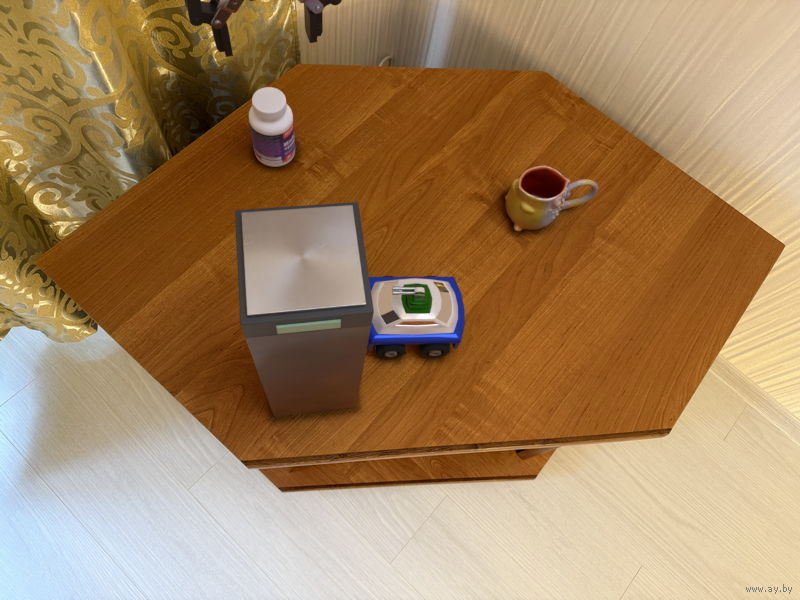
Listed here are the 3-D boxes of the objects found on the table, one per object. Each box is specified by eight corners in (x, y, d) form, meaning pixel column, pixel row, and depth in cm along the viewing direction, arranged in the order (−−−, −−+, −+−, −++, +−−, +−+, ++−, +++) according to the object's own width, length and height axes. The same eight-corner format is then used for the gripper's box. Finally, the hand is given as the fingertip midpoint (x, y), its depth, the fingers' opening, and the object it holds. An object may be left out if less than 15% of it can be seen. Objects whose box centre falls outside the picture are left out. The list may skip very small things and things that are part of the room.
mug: (507, 235, 78) (522, 207, 72) (497, 190, 80) (511, 160, 74) (593, 230, 80) (615, 203, 74) (581, 187, 82) (601, 157, 76)
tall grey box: (274, 419, 65) (239, 325, 39) (268, 340, 68) (233, 206, 43) (356, 409, 66) (374, 312, 41) (346, 332, 70) (358, 198, 44)
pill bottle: (294, 169, 78) (289, 119, 69) (252, 166, 78) (242, 115, 69) (297, 136, 80) (293, 84, 71) (256, 133, 80) (248, 79, 71)
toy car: (357, 287, 72) (361, 250, 64) (453, 286, 74) (470, 250, 65) (359, 360, 69) (364, 331, 60) (461, 357, 70) (480, 329, 62)
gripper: (327, -162, 48) (327, 7, 63) (145, -147, 45) (190, 27, 60) (354, -102, 46) (348, 59, 60) (164, -82, 42) (206, 84, 57)
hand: (269, 43), depth 60 cm, fingers open, 8 cm apart
